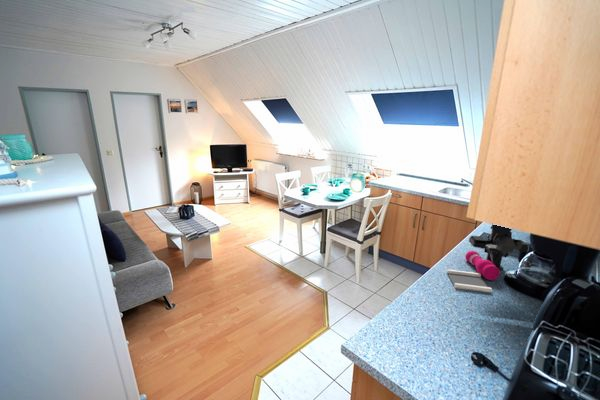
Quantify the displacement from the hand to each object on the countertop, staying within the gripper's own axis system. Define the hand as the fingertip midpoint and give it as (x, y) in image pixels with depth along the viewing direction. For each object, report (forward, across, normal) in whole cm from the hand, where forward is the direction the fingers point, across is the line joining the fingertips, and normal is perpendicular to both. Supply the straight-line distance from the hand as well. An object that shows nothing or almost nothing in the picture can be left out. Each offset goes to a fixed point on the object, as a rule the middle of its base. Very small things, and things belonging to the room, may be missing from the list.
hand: (493, 263), depth 110 cm
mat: (+10, -8, 0) cm, 13 cm away
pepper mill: (+6, +2, +3) cm, 7 cm away
